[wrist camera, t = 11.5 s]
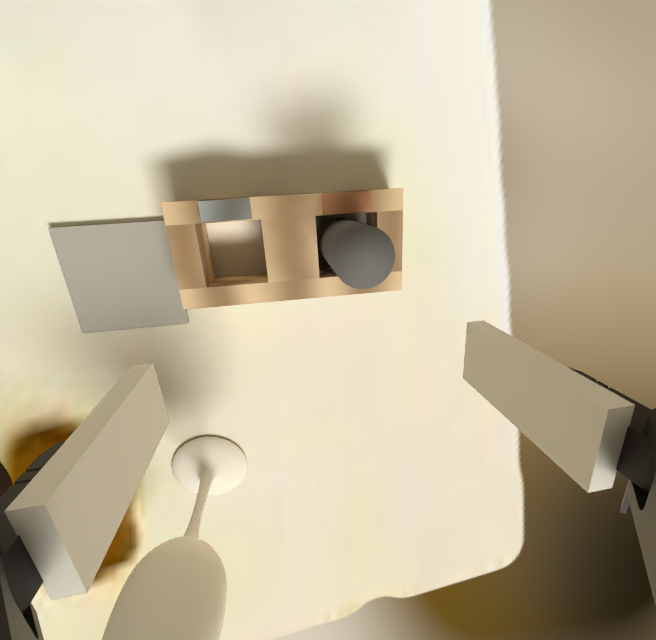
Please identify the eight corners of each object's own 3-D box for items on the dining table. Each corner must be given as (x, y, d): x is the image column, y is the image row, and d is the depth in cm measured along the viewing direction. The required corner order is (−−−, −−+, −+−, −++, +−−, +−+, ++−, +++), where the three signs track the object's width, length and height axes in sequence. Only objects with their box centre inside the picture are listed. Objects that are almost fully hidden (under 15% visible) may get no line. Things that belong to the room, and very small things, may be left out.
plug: (318, 264, 34) (334, 291, 24) (315, 219, 32) (331, 227, 22) (361, 261, 34) (394, 286, 24) (360, 216, 33) (395, 223, 23)
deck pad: (85, 331, 33) (82, 333, 33) (51, 227, 30) (48, 228, 29) (189, 321, 34) (188, 323, 34) (167, 220, 31) (166, 220, 30)
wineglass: (247, 434, 40) (212, 664, 20) (247, 492, 42) (217, 742, 23) (169, 436, 38) (50, 683, 19) (175, 495, 41) (76, 763, 21)
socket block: (194, 297, 33) (181, 311, 29) (175, 202, 30) (157, 202, 26) (388, 280, 35) (403, 291, 31) (389, 189, 32) (405, 187, 28)
